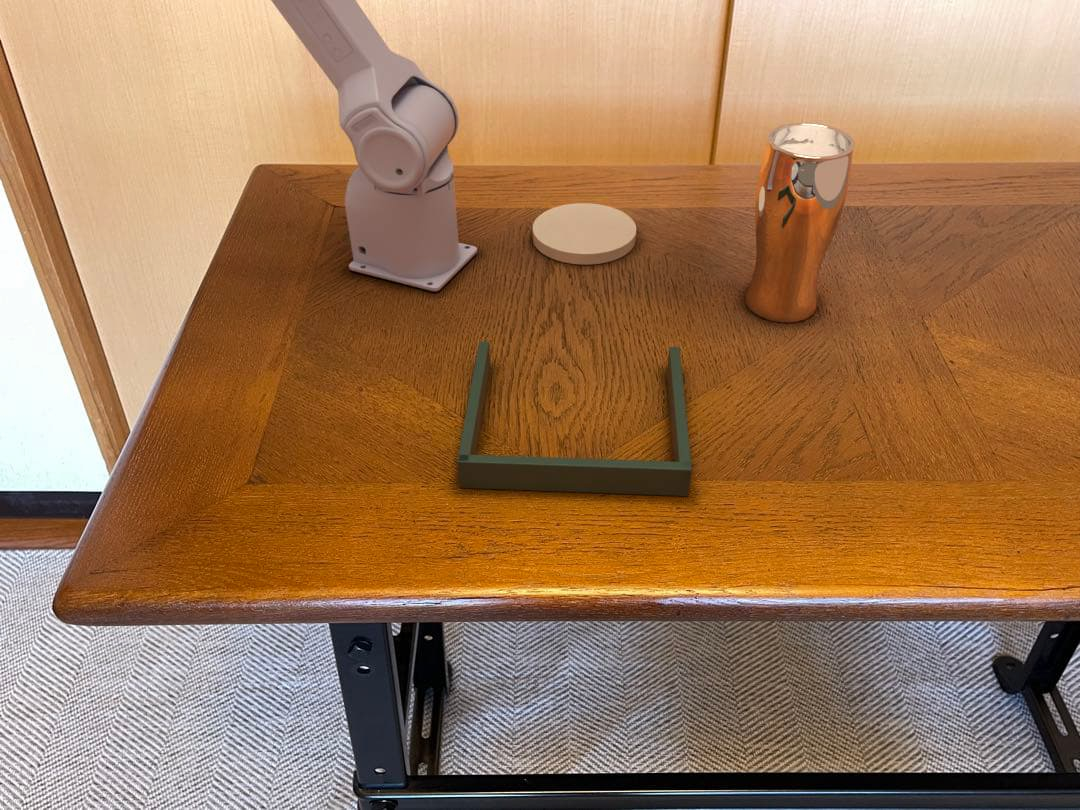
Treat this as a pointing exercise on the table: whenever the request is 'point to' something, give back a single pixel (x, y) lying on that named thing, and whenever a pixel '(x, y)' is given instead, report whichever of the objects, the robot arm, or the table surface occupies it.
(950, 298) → the table surface
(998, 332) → the table surface
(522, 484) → the green u-shaped bracket
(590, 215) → the plate
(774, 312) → the beer glass
